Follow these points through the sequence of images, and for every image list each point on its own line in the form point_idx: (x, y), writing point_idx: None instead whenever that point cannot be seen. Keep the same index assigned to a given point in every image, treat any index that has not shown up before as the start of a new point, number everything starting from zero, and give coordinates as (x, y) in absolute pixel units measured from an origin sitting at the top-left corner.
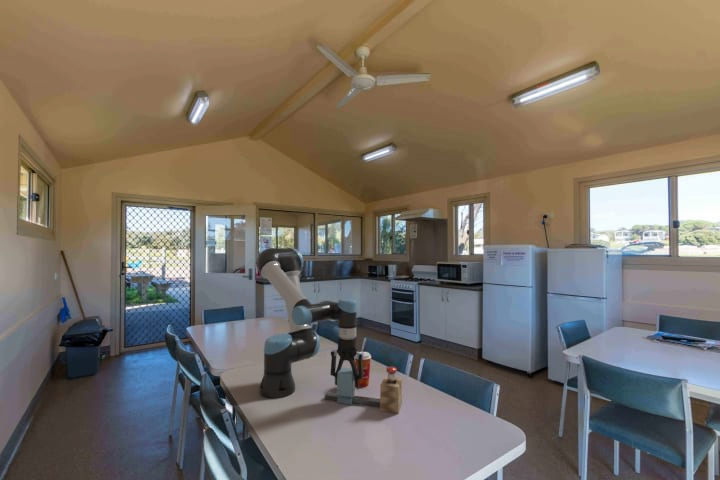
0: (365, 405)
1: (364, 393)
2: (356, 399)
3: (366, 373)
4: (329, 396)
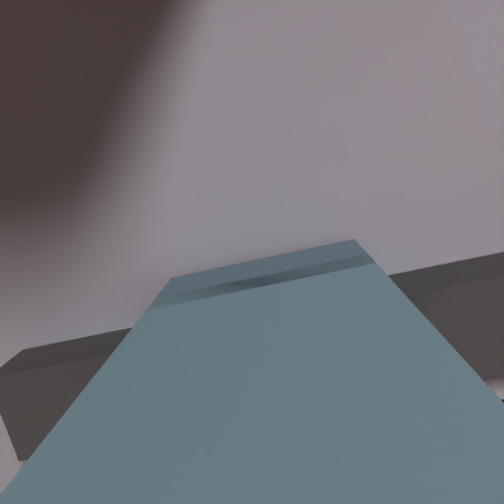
0: None
1: (385, 10)
2: None
3: None
4: None
